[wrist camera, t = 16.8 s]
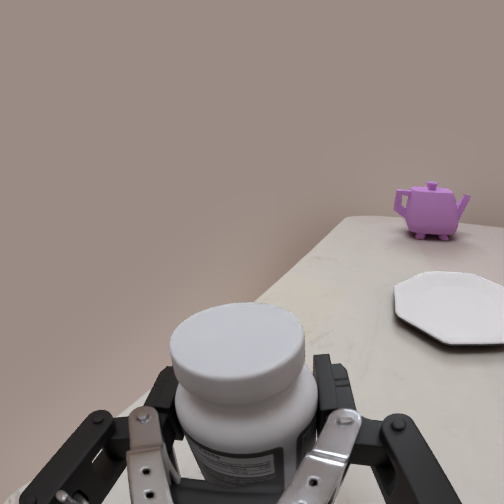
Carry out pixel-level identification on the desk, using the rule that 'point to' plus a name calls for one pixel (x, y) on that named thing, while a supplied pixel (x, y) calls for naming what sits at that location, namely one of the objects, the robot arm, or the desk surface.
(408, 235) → the desk surface
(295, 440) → the pill bottle
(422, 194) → the teapot
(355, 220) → the desk surface
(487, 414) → the desk surface
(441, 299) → the plate
